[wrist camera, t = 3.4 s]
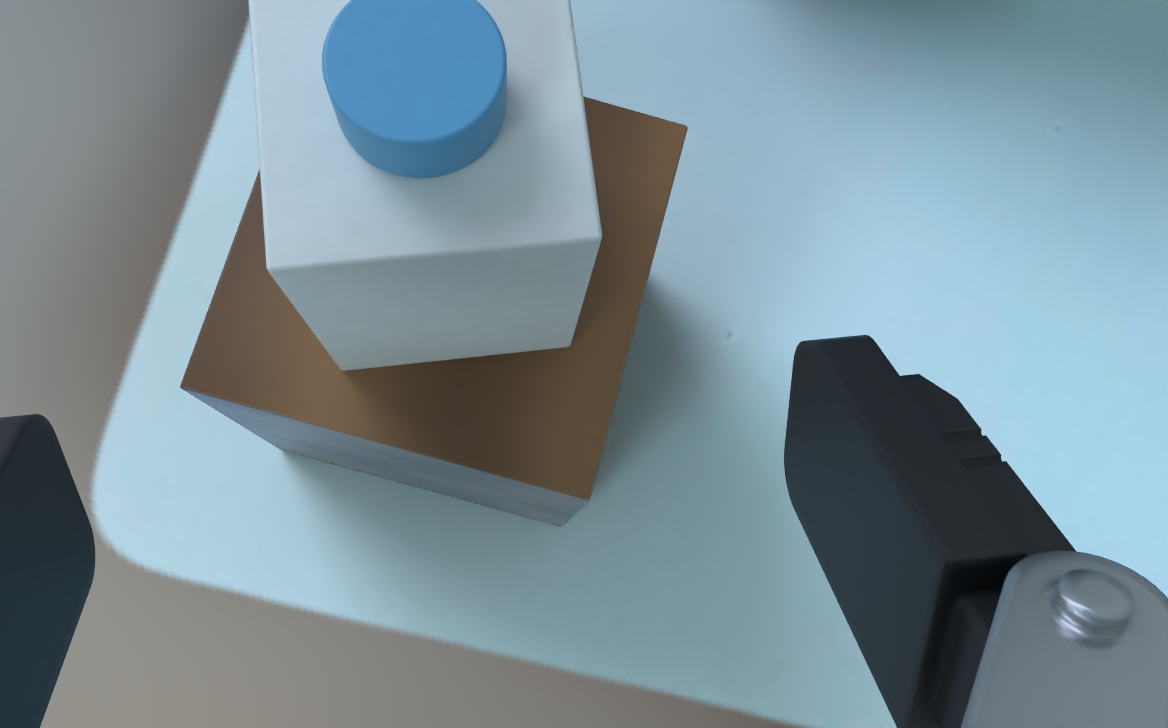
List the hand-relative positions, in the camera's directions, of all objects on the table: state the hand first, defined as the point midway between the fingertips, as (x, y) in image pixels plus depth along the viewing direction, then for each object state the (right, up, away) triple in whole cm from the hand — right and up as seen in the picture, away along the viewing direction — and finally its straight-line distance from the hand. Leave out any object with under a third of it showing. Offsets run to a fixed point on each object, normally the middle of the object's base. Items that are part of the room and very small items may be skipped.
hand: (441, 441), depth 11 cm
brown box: (-2, +1, +21) cm, 21 cm away
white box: (-1, +3, +11) cm, 12 cm away
